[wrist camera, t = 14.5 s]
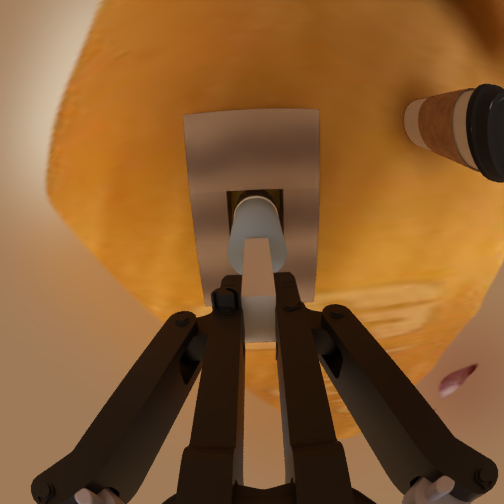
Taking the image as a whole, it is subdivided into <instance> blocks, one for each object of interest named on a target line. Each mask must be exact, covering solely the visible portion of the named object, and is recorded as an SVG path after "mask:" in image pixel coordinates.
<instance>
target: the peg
mask: <svg viewBox="0 0 504 504" xmlns="http://www.w3.org/2000/svg"><path fill="white" fill-rule="evenodd" d="M251 238H268V239H269V247H270V254H271V261H272V269H273V273H274V272H278V271H279V270H280V269H281V268H282V266H283V265H284V263H285V260H286V256H287V248H286V244H285V240H284V236H283V233H282V229H281V225H280V221H279V218H278V212H277V209H276V207H275V203H274V200H273V197H272V196H271V194H270V193H269V192H268V191H267V190H265V189H261V190H245V191H243V192H242V193H241V194H240V196H239V198H238V201H237V205H236V209H235V212H234V220H233V225H232V230H231V235H230V240H229V245H228V251H227V255H228V260H229V262H230V264H231V266H232V268H233V269H234V270H235V271H236V272H237V273H239V274H240V275H242V274H243V258H244V243H245V239H251Z"/></svg>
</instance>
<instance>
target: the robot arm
mask: <svg viewBox="0 0 504 504" xmlns="http://www.w3.org/2000/svg"><path fill="white" fill-rule="evenodd" d="M211 302H212V308H213V311H212V313H210V314H208V315H206V316H202V317H198V318H196V315H195V314H193V313H192V312H189V311H181V312H177V313H175V314H173V315H171V316H170V317H169V318H168V320H167V321H166V322H165V324H164V325H163V326H162V328H161V329H160V330H159V332H158V333H157V334H156V336H155V337H154V338H153V340H152V341H151V342H150V344H149V345H148V346H147V348H146V349H145V350H144V352H143V353H142V354H141V356H140V357H139V359H138V360H137V361H136V363H135V364H134V365H133V367H132V368H131V369H130V371H129V372H128V373H127V375H126V376H125V378H124V379H123V380H122V382H121V383H120V385H119V386H118V387H117V389H116V390H115V392H114V393H113V394H112V396H111V397H110V398H109V400H108V401H107V403H106V404H105V405H104V407H103V408H102V410H101V411H100V412H99V414H98V415H97V417H96V418H95V419H94V421H93V423H92V424H91V425H90V427H89V428H88V430H87V431H86V432H85V434H84V435H83V437H82V438H81V440H80V442H79V443H78V444H77V445H76V447H75V449H74V450H73V451H72V452H71V453H70V454H68V455H67V456H65V457H64V458H63V459H61V460H60V461H58V462H57V463H55V464H54V465H53V466H51V467H50V468H48V469H47V470H46V471H44V472H43V473H41V474H40V475H38V476H37V477H36V478H35V479H34V480H33V482H32V485H31V493H32V496H33V498H34V500H35V501H36V502H37V504H127V503H128V502H129V501H130V500H131V499H132V497H133V496H134V495H135V494H136V492H137V491H138V489H139V488H140V486H141V484H142V483H143V481H144V479H145V477H146V475H147V473H148V471H149V469H150V467H151V465H152V464H153V462H154V460H155V458H156V456H157V454H158V452H159V450H160V448H161V446H162V444H163V442H164V440H165V439H166V437H167V435H168V433H169V431H170V429H171V427H172V425H173V423H174V421H175V419H176V417H177V415H178V414H179V411H180V410H181V408H182V406H183V404H184V402H185V400H186V398H187V396H188V394H189V392H190V390H191V388H192V386H193V384H194V383H195V381H196V378H197V377H198V375H199V373H200V371H201V369H202V371H201V378H200V383H199V389H198V395H197V401H196V407H195V413H194V420H193V426H192V432H191V439H190V444H189V446H187V447H186V448H185V449H184V451H183V455H182V460H181V466H180V473H179V479H178V486H177V493H176V494H175V495H173V496H171V497H170V498H168V499H167V500H166V501H165V502H163V503H162V504H376V503H375V502H374V501H372V500H371V499H369V498H368V497H366V496H365V495H364V494H362V493H361V492H359V491H358V490H356V489H353V488H351V482H350V477H349V472H348V467H347V462H346V457H345V452H344V448H343V446H342V444H341V442H339V441H337V439H336V435H335V431H334V426H333V421H332V416H331V412H330V407H329V402H328V398H327V393H326V389H325V385H324V380H323V376H322V372H321V367H320V363H321V364H322V366H323V368H324V369H325V371H326V373H327V375H328V376H329V378H330V380H331V381H332V383H333V385H334V386H335V388H336V390H337V391H338V393H339V395H340V396H341V398H342V400H343V401H344V403H345V405H346V406H347V408H348V410H349V411H350V413H351V415H352V416H353V418H354V420H355V421H356V423H357V425H358V427H359V428H360V430H361V432H362V433H363V435H364V437H365V438H366V440H367V442H368V443H369V445H370V447H371V448H372V450H373V451H374V453H375V455H376V457H377V458H378V460H379V462H380V463H381V465H382V467H383V469H384V470H385V472H386V474H387V475H388V477H389V478H390V480H391V481H392V482H393V484H394V485H395V486H396V487H397V488H398V490H399V491H400V492H401V493H402V494H404V498H403V500H402V504H470V503H471V502H472V501H473V500H475V499H476V498H478V497H480V496H481V495H483V494H485V493H486V492H488V491H489V490H491V489H492V488H493V486H494V485H495V484H496V481H497V478H498V469H497V466H496V464H495V463H494V462H493V461H492V460H491V459H489V458H487V457H486V456H484V455H482V454H481V453H479V452H477V451H476V450H474V449H472V448H471V447H469V446H467V445H466V444H464V443H463V442H461V441H459V440H458V439H457V438H455V437H454V436H453V435H452V433H451V432H450V431H449V429H448V428H447V427H446V426H445V424H444V423H443V422H442V420H441V419H440V418H439V416H438V415H437V414H436V413H435V411H434V410H433V409H432V408H431V406H430V405H429V404H428V403H427V401H426V400H425V399H424V398H423V396H422V395H421V394H420V393H419V391H418V390H417V389H416V388H415V386H414V385H413V384H412V383H411V381H410V380H409V379H408V378H407V377H406V375H405V374H404V373H403V372H402V371H401V369H400V368H399V367H398V366H397V365H396V363H395V362H394V361H393V360H392V359H391V357H390V356H389V355H388V354H387V353H386V351H385V350H384V349H383V348H382V347H381V346H380V344H379V343H378V342H377V341H376V340H375V338H374V337H373V336H372V335H371V334H370V333H369V332H368V330H367V329H366V328H365V327H364V326H363V325H362V323H361V322H360V321H359V320H358V319H357V318H356V317H355V315H354V314H353V313H352V312H351V311H350V310H349V309H348V308H347V307H345V306H342V305H338V304H333V305H328V306H326V307H325V308H324V309H323V311H322V312H319V311H313V310H310V309H307V308H306V307H305V305H304V303H303V302H301V299H300V295H299V291H298V288H297V284H296V280H295V276H294V275H293V274H292V273H290V272H274V273H273V269H272V261H271V254H270V247H269V239H268V238H251V239H245V243H244V258H243V274H242V275H226V276H225V277H224V278H223V279H222V280H221V286H220V288H217V289H215V290H214V291H212V293H211ZM252 342H276V360H277V367H278V379H279V391H280V404H281V416H282V430H283V443H284V457H285V472H286V477H285V478H286V479H285V484H284V485H281V486H277V487H273V488H270V489H257V488H251V487H247V486H244V484H243V438H244V437H243V436H244V390H245V343H252ZM319 361H320V363H319Z"/></svg>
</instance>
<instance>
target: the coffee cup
mask: <svg viewBox="0 0 504 504" xmlns="http://www.w3.org/2000/svg"><path fill="white" fill-rule="evenodd" d="M404 127H405V131H406V133H407V135H408V137H409V139H410V140H411V141H412V142H413V143H414V144H415V145H417V146H419V147H421V148H424V149H427V150H430V151H432V152H435V153H437V154H439V155H441V156H444V157H446V158H448V159H451V160H453V161H455V162H457V163H459V164H462V165H464V166H466V167H468V168H470V169H472V170H475V171H477V172H481V173H482V175H483V176H485V177H486V178H487V179H489V180H491V181H495V182H504V89H503V88H501V87H499V86H497V85H491V84H482V85H479V86H478V87H477V88H476V89H474V88H468V89H463V90H458V91H453V92H449V93H445V94H440V95H436V96H432V97H429V98H424V99H419V100H416V101H413V102H412V103H410V104H409V105H408V107H407V108H406V110H405V113H404Z"/></svg>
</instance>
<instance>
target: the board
mask: <svg viewBox="0 0 504 504" xmlns="http://www.w3.org/2000/svg"><path fill="white" fill-rule="evenodd" d="M183 122H184V136H185V148H186V160H187V171H188V181H189V190H190V199H191V208H192V217H193V225H194V233H195V240H196V248H197V255H198V262H199V268H200V275H201V282H202V288H203V294H204V300H205V306H212V302H211V293H212V291H214V290H215V289H217V288H220V286H221V280H222V279H223V278H224V277H225V276H226V275H240V274H239V273H237V272H236V271H235V270H234V269H233V268H232V266H231V264H230V262H229V260H228V255H227V251H228V245H229V240H230V235H231V230H232V225H233V223H232V210H231V196H230V191H239V190H261V189H279V191H280V225H281V229H282V233H283V236H284V240H285V244H286V248H287V256H286V260H285V263H284V265H283V266H282V268H281V269H280V270H279V271H278V272H290V273H292V274H293V275H294V276H295V280H296V284H297V288H298V291H299V295H300V299H301V302H303V303H306V302H314V293H315V280H316V266H317V249H318V228H319V196H320V130H319V109H301V108H271V109H244V110H228V111H216V112H206V113H197V114H189V115H183Z"/></svg>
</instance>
